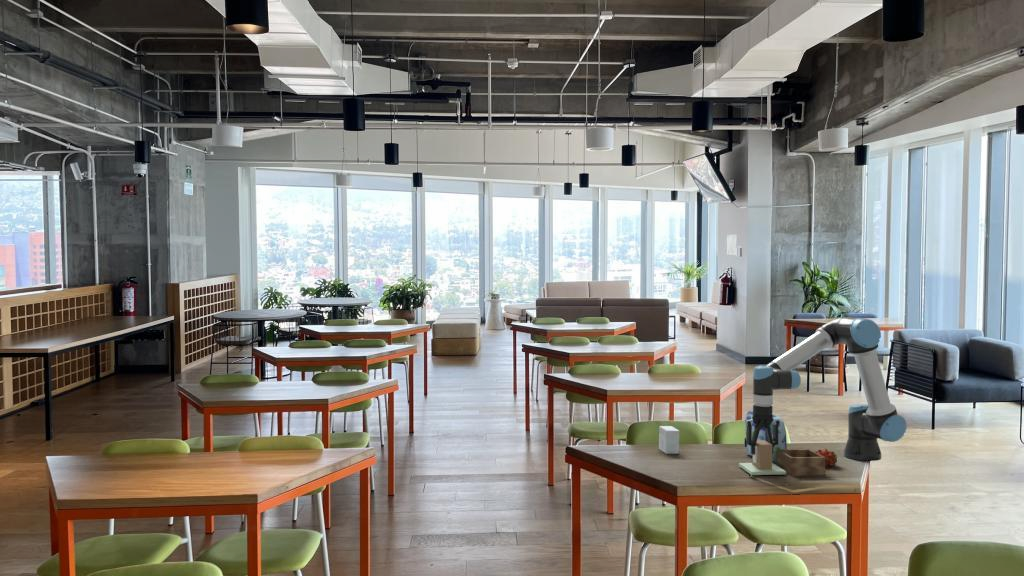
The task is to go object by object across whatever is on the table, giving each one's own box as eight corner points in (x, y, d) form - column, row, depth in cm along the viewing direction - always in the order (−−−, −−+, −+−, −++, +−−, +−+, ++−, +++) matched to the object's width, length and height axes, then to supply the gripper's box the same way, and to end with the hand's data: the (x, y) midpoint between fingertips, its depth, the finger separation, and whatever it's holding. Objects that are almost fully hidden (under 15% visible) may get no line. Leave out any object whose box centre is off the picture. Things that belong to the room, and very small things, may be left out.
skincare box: (679, 453, 353) (680, 430, 352) (665, 454, 352) (666, 430, 352) (672, 448, 363) (672, 425, 363) (658, 448, 362) (658, 425, 362)
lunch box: (741, 452, 355) (742, 406, 354) (765, 452, 356) (766, 406, 355) (763, 467, 329) (764, 417, 328) (788, 467, 330) (789, 417, 329)
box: (809, 468, 329) (809, 449, 328) (824, 477, 315) (825, 457, 314) (776, 468, 327) (776, 449, 327) (790, 478, 313) (791, 458, 313)
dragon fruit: (839, 472, 329) (811, 476, 328) (831, 456, 335) (803, 460, 335) (843, 458, 323) (814, 463, 323) (834, 443, 330) (806, 447, 330)
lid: (771, 465, 327) (772, 438, 327) (786, 474, 313) (786, 446, 313) (738, 465, 326) (739, 438, 326) (751, 475, 312) (751, 446, 312)
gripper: (780, 402, 323) (779, 459, 324) (737, 403, 322) (736, 460, 323) (788, 406, 316) (787, 464, 317) (744, 406, 314) (743, 464, 315)
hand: (762, 462), depth 320 cm, fingers closed on lid, 5 cm apart
